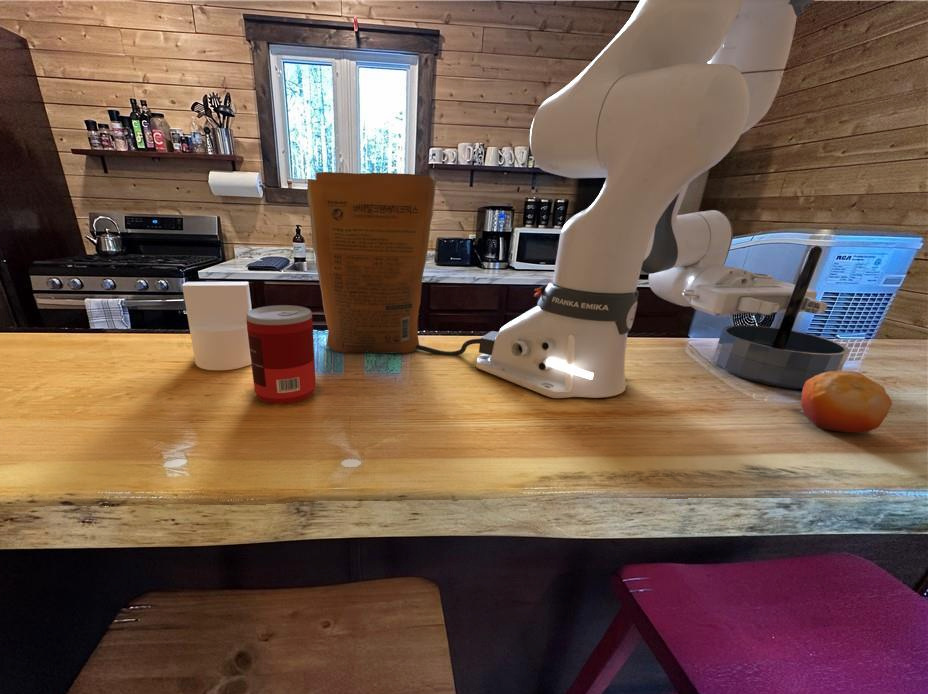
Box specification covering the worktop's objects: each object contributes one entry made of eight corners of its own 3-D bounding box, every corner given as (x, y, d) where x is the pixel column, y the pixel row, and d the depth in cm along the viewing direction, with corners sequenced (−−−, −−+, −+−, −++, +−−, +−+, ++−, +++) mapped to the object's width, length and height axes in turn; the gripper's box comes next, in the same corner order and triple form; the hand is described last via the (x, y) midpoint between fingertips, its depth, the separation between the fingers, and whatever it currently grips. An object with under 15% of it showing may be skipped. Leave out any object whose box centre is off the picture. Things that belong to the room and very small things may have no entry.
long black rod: (750, 368, 72) (794, 245, 65) (752, 360, 76) (795, 243, 68) (790, 376, 69) (841, 248, 62) (790, 368, 73) (838, 246, 65)
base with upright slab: (189, 371, 64) (174, 289, 59) (202, 352, 72) (190, 278, 67) (254, 368, 66) (245, 289, 61) (259, 349, 74) (251, 278, 69)
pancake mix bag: (429, 357, 73) (438, 174, 62) (315, 355, 72) (304, 168, 61) (426, 345, 80) (434, 176, 69) (321, 343, 78) (312, 171, 67)
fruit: (848, 402, 59) (891, 364, 52) (864, 453, 54) (913, 418, 48) (778, 392, 61) (810, 355, 55) (787, 440, 57) (824, 406, 50)
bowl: (705, 372, 72) (716, 337, 69) (718, 350, 83) (728, 320, 81) (836, 402, 62) (853, 362, 60) (830, 372, 74) (844, 338, 72)
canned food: (327, 387, 60) (324, 309, 56) (289, 410, 53) (281, 323, 49) (283, 377, 63) (277, 302, 59) (242, 397, 56) (231, 314, 52)
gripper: (680, 274, 77) (752, 289, 64) (772, 274, 81) (856, 288, 69) (671, 309, 79) (738, 330, 67) (761, 307, 84) (839, 327, 71)
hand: (799, 309), depth 68 cm, fingers open, 8 cm apart
